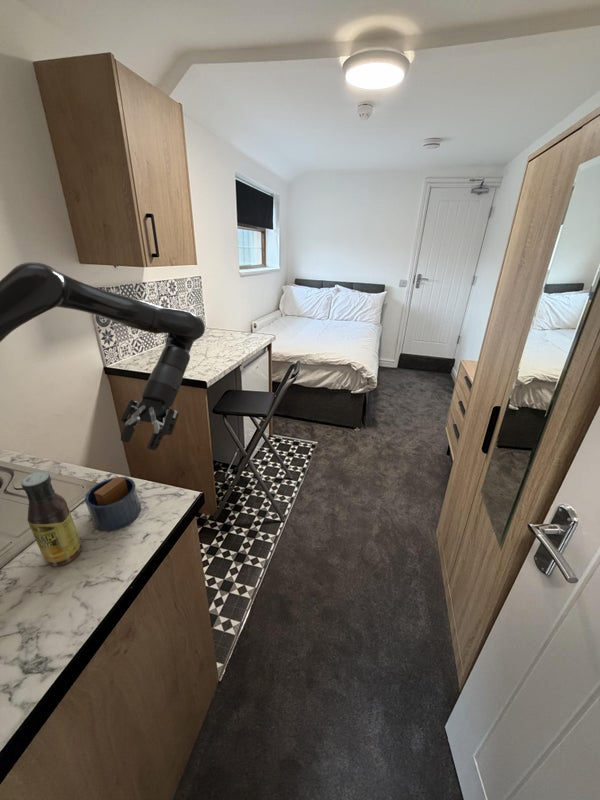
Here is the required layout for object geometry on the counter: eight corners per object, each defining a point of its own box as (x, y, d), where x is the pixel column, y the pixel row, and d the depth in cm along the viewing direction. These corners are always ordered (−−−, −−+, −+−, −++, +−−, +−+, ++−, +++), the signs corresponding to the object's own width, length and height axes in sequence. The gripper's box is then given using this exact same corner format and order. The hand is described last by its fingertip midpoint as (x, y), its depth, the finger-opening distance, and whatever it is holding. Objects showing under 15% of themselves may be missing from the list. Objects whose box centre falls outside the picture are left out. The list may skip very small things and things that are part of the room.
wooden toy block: (103, 519, 74) (93, 492, 70) (124, 502, 79) (117, 476, 76) (111, 522, 73) (102, 495, 70) (132, 505, 78) (125, 478, 75)
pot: (83, 529, 72) (74, 505, 69) (110, 498, 81) (103, 475, 78) (126, 533, 71) (118, 509, 68) (149, 500, 80) (143, 478, 77)
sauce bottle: (38, 564, 64) (-1, 486, 56) (66, 539, 70) (34, 464, 61) (65, 572, 63) (30, 492, 54) (91, 546, 68) (62, 470, 60)
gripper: (132, 374, 81) (103, 435, 77) (177, 383, 77) (149, 449, 72) (152, 385, 88) (127, 442, 84) (194, 394, 83) (170, 455, 79)
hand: (137, 445), depth 78 cm, fingers open, 8 cm apart
